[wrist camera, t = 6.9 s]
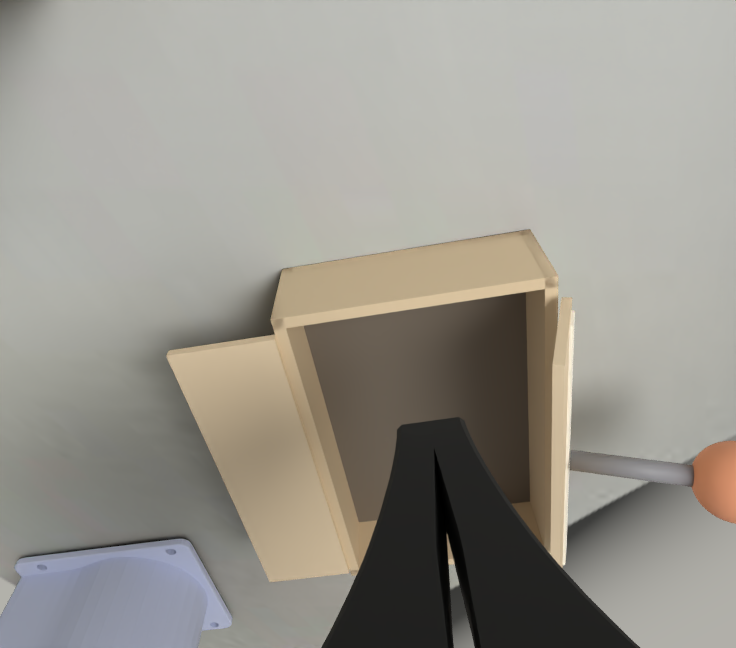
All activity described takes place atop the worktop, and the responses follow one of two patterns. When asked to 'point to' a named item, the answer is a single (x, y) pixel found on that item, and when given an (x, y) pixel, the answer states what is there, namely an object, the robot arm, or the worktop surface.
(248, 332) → the worktop surface
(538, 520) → the carton
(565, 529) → the flap
